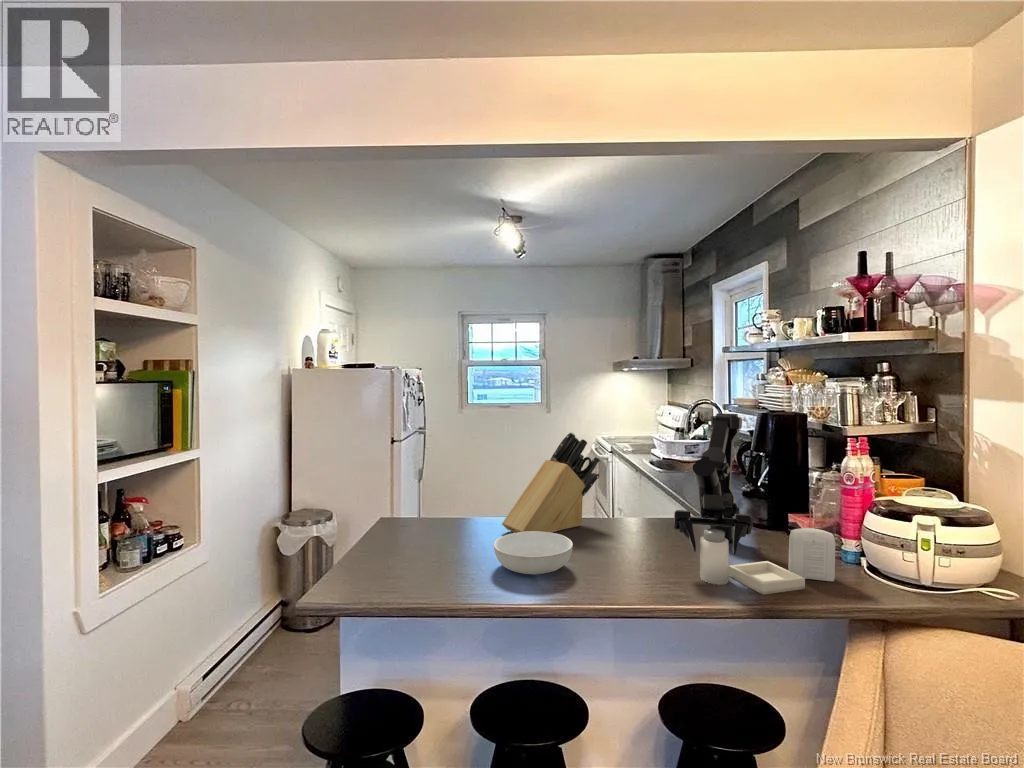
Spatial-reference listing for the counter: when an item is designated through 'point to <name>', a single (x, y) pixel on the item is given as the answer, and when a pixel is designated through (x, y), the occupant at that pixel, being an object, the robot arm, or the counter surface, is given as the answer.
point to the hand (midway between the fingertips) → (714, 552)
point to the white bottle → (714, 557)
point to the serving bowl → (533, 551)
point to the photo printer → (812, 554)
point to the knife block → (555, 491)
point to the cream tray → (766, 577)
